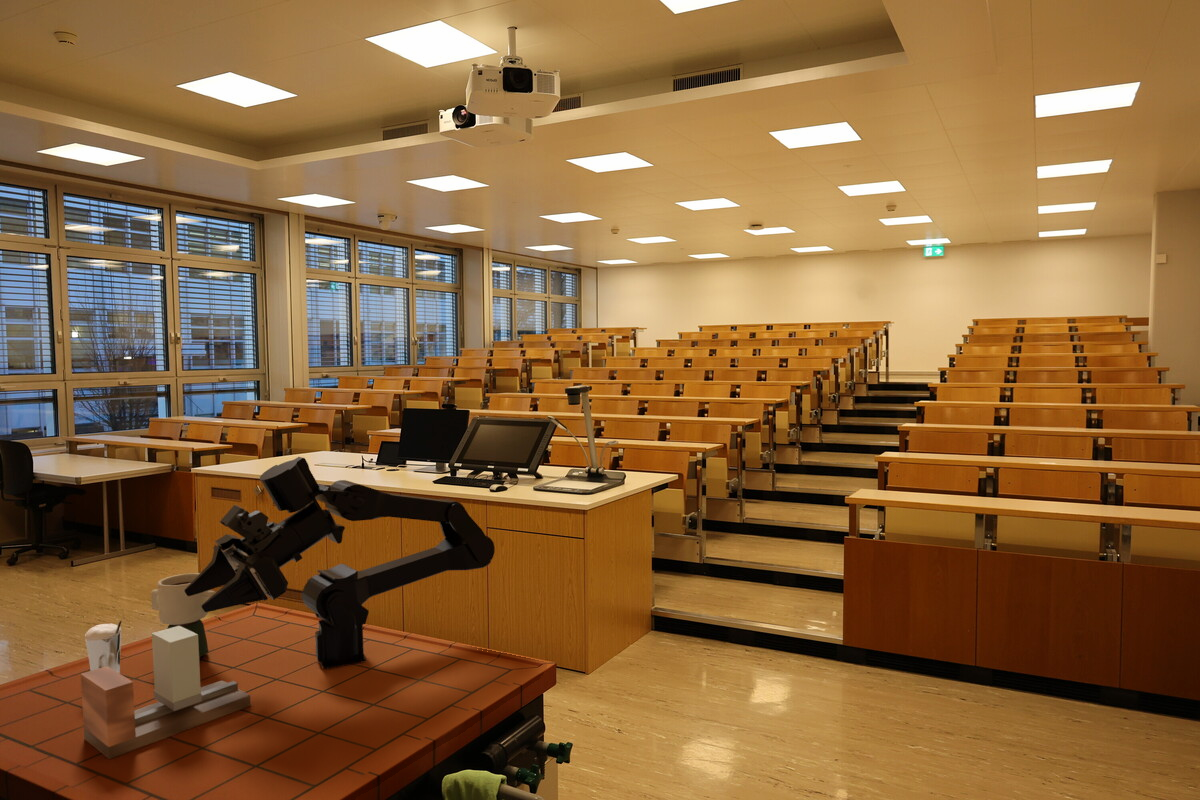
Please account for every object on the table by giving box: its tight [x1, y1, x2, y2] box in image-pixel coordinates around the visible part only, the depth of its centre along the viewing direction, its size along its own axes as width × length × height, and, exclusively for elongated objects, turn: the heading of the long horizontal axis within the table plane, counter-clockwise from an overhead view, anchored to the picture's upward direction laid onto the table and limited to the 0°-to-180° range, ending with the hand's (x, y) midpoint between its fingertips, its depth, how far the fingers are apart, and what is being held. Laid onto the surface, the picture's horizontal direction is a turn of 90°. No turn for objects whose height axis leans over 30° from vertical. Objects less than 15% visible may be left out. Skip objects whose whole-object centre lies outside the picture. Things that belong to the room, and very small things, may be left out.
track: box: [80, 666, 251, 760], centre depth 102 cm, size 18×8×8 cm, turn 142°
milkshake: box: [84, 620, 123, 674], centre depth 113 cm, size 5×5×10 cm
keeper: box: [151, 626, 202, 711], centre depth 103 cm, size 4×6×9 cm, turn 52°
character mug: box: [150, 572, 217, 658], centre depth 123 cm, size 11×7×13 cm, turn 84°
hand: (194, 601), depth 108 cm, fingers open, 9 cm apart
